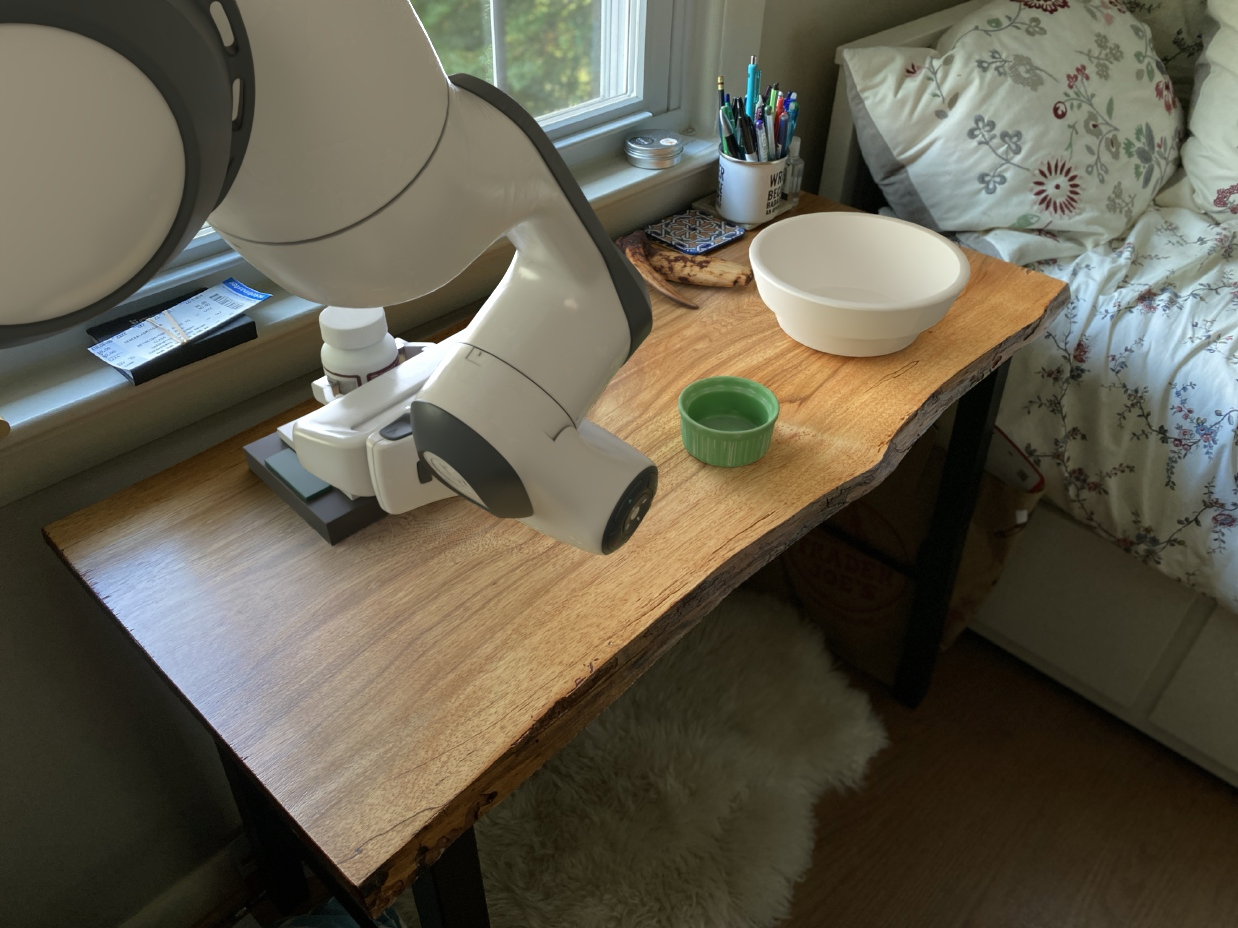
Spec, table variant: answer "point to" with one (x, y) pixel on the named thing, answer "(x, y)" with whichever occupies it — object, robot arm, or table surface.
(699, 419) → the ramekin
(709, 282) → the lashed bone hook
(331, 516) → the scale
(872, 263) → the bowl
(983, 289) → the table surface
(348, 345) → the pill bottle
